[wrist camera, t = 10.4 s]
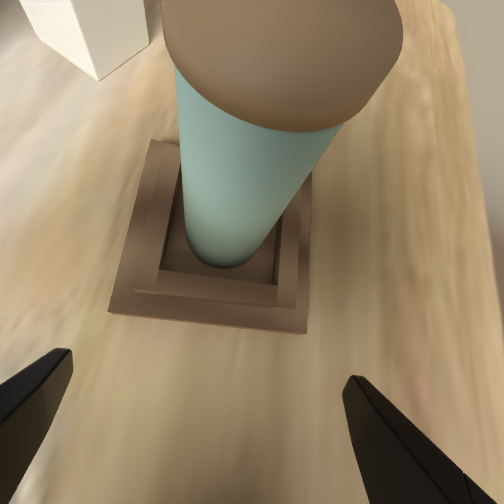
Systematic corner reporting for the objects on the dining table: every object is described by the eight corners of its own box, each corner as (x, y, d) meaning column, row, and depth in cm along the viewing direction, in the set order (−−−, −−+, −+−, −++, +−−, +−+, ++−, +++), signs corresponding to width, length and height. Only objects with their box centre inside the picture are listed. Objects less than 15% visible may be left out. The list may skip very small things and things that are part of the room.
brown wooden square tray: (298, 334, 20) (316, 332, 17) (114, 314, 18) (99, 308, 15) (304, 182, 24) (319, 161, 21) (153, 152, 22) (147, 124, 19)
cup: (201, 284, 18) (222, 122, 5) (170, 209, 19) (120, -88, 6) (276, 254, 20) (445, 70, 6) (244, 186, 21) (332, -88, 8)
